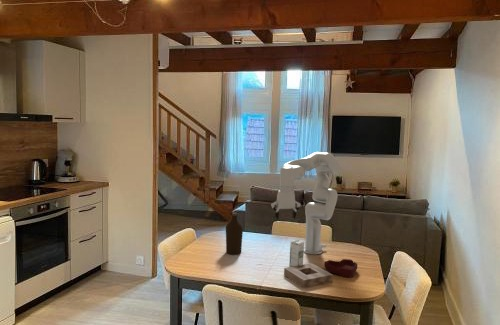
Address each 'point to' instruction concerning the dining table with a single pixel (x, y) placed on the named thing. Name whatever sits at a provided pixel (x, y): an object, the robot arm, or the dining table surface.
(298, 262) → the syrup box
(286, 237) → the dining table surface
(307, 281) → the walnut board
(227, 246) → the olive oil
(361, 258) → the dining table surface
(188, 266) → the dining table surface
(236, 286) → the dining table surface
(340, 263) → the ashtray
